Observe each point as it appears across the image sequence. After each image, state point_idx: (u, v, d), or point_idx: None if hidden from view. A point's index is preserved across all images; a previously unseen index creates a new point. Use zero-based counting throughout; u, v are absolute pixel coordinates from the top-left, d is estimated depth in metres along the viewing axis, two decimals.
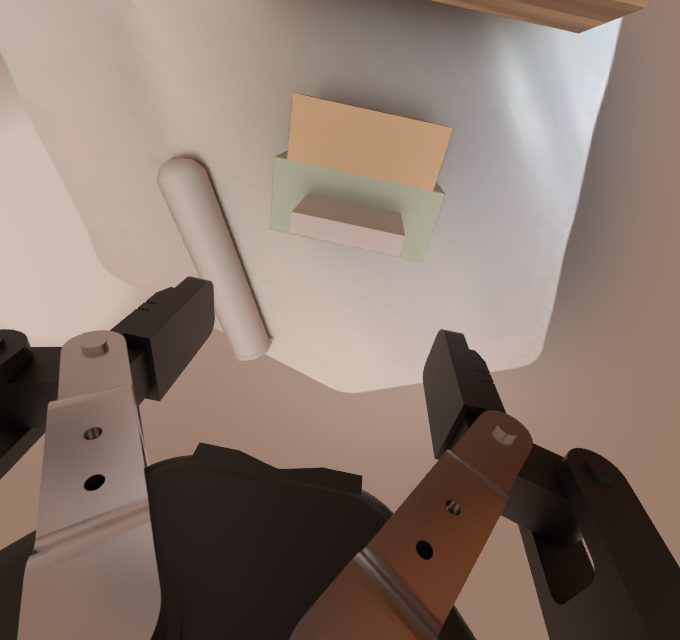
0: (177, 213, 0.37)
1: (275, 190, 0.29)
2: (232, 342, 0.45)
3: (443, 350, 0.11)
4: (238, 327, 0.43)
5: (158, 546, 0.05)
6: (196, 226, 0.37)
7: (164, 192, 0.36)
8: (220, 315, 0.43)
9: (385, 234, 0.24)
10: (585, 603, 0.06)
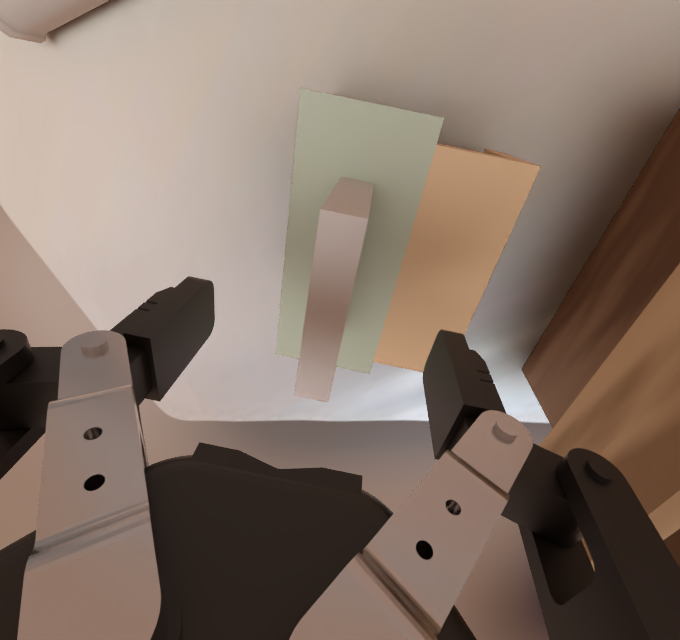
0: None
1: (381, 112, 0.14)
2: None
3: (443, 350, 0.11)
4: None
5: (158, 546, 0.05)
6: None
7: None
8: None
9: (328, 378, 0.14)
10: (585, 603, 0.06)
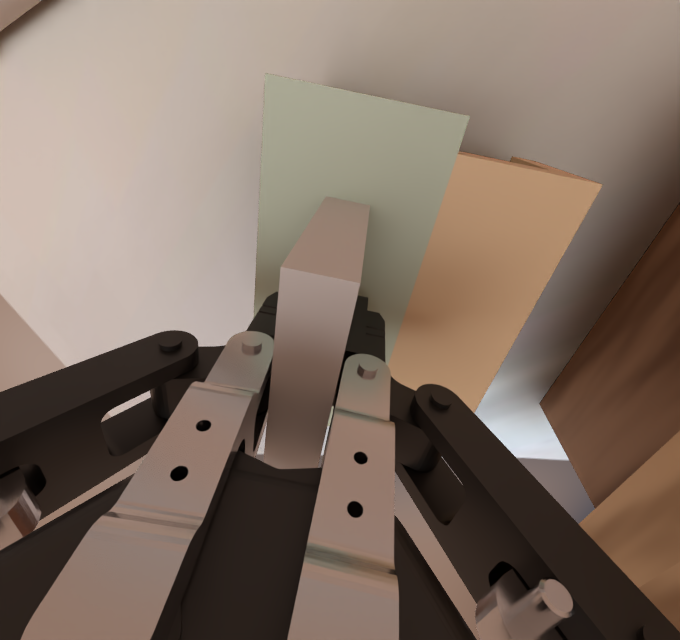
0: None
1: (380, 108, 0.10)
2: None
3: None
4: None
5: None
6: None
7: None
8: None
9: None
10: (465, 517, 0.07)
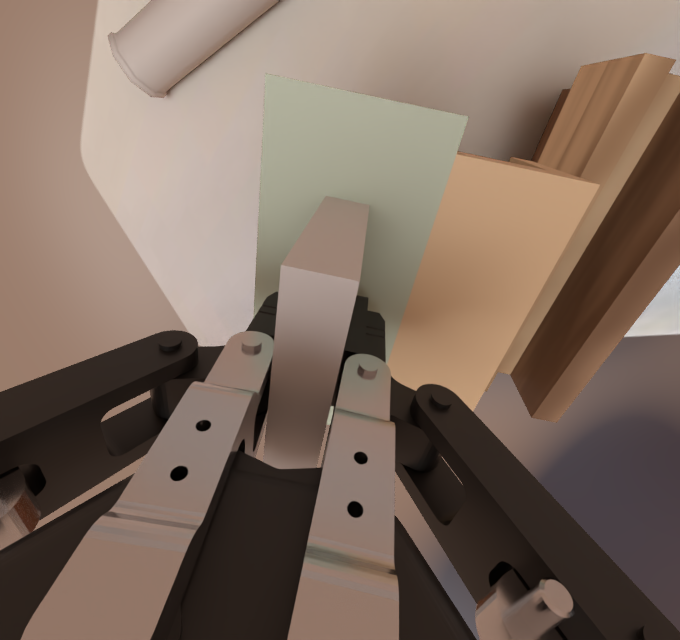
0: None
1: (379, 108, 0.10)
2: (135, 31, 0.29)
3: None
4: (168, 39, 0.29)
5: None
6: None
7: None
8: None
9: None
10: (465, 517, 0.07)
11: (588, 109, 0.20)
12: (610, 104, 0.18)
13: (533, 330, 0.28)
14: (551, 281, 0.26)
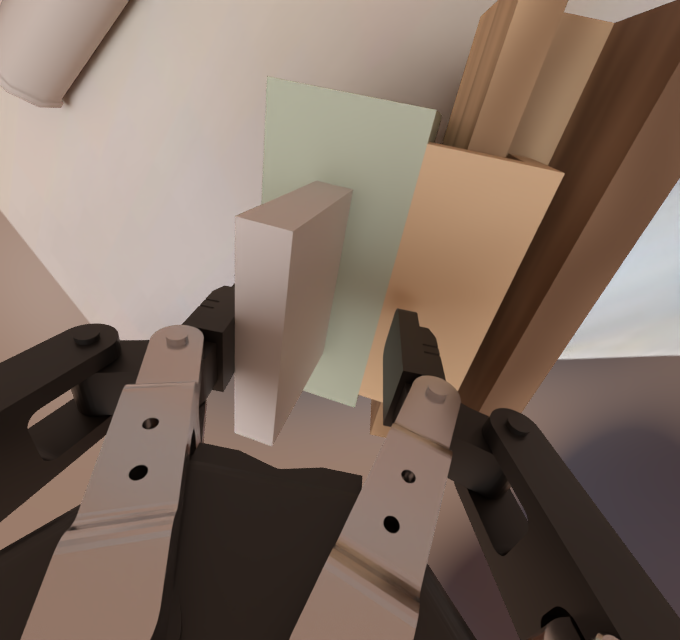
0: None
1: (359, 104, 0.12)
2: None
3: (396, 326, 0.11)
4: (32, 32, 0.24)
5: None
6: None
7: None
8: None
9: (269, 419, 0.12)
10: (524, 550, 0.07)
11: (478, 71, 0.14)
12: (493, 58, 0.12)
13: None
14: None
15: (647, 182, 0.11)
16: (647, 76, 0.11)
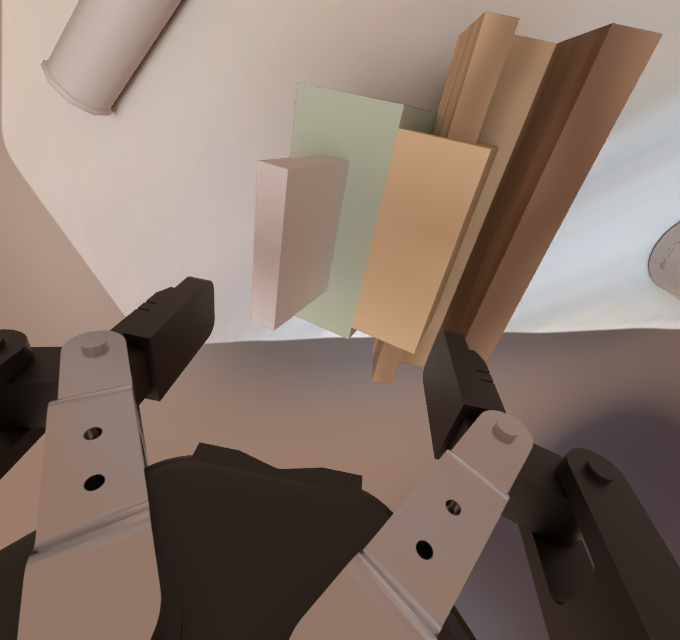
0: None
1: (354, 101, 0.17)
2: (61, 52, 0.29)
3: (443, 350, 0.11)
4: (92, 51, 0.29)
5: (158, 546, 0.05)
6: None
7: None
8: (84, 9, 0.27)
9: (272, 307, 0.17)
10: (585, 603, 0.06)
11: (455, 79, 0.18)
12: (464, 70, 0.17)
13: (440, 320, 0.27)
14: None
15: (573, 161, 0.16)
16: (571, 85, 0.15)
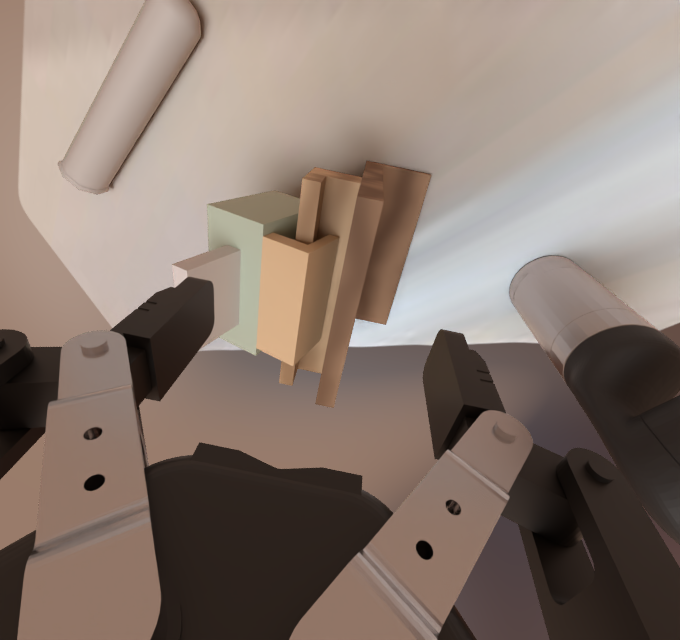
0: (140, 31, 0.34)
1: (238, 218, 0.29)
2: (71, 156, 0.41)
3: (443, 350, 0.11)
4: (92, 155, 0.41)
5: (158, 546, 0.05)
6: (145, 60, 0.35)
7: (148, 4, 0.33)
8: (85, 129, 0.39)
9: None
10: (585, 603, 0.06)
11: None
12: None
13: (326, 341, 0.38)
14: None
15: (358, 258, 0.28)
16: None
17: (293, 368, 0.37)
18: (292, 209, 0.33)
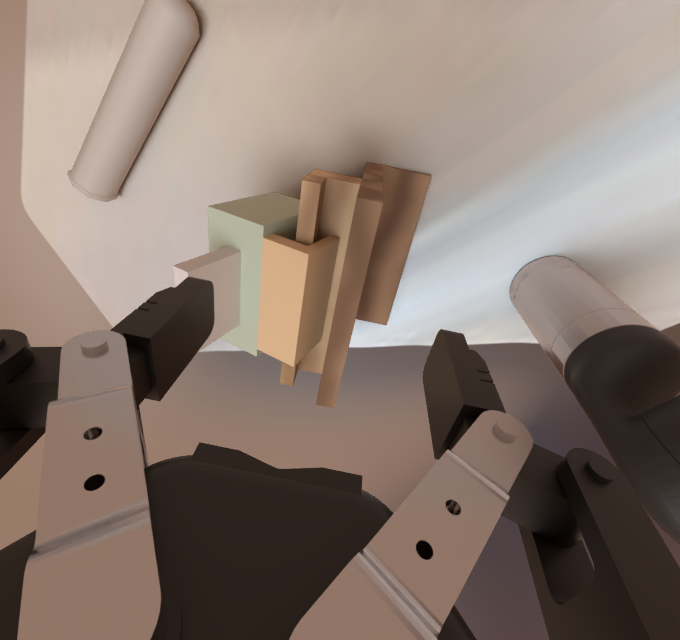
0: (140, 34, 0.34)
1: (238, 220, 0.29)
2: (80, 165, 0.42)
3: (443, 350, 0.11)
4: (100, 162, 0.41)
5: (158, 546, 0.05)
6: (146, 63, 0.35)
7: (146, 7, 0.34)
8: (92, 137, 0.40)
9: None
10: (585, 603, 0.06)
11: None
12: None
13: (327, 342, 0.39)
14: (326, 308, 0.36)
15: (358, 259, 0.28)
16: None
17: (294, 369, 0.37)
18: (292, 211, 0.33)
